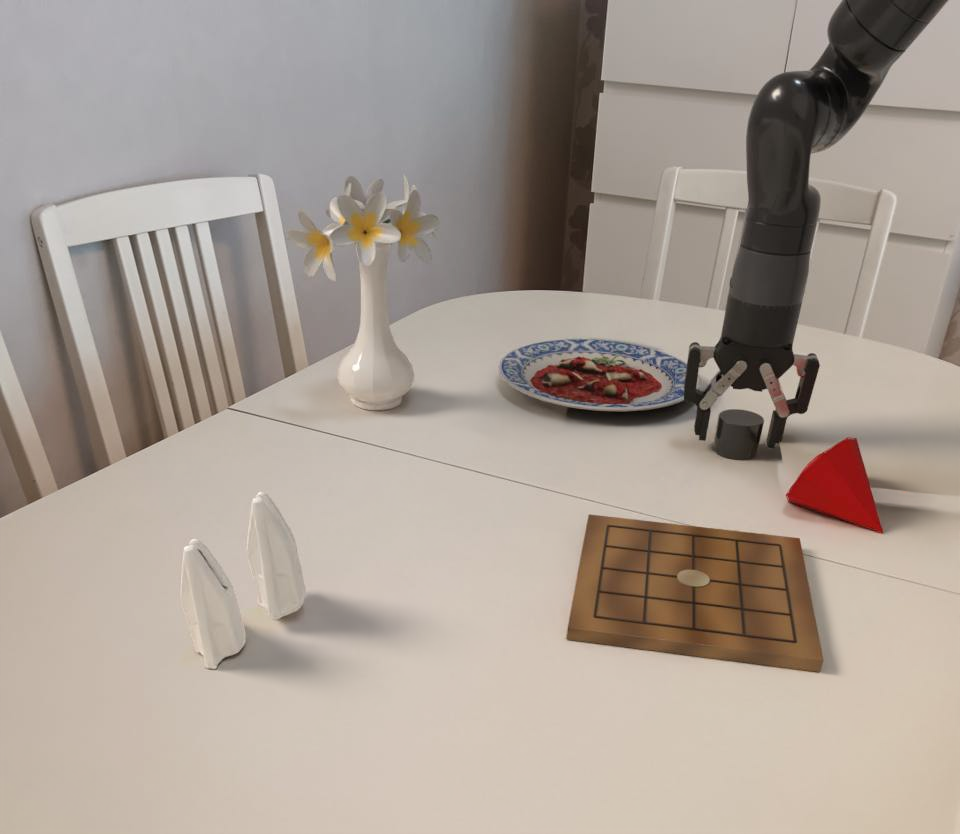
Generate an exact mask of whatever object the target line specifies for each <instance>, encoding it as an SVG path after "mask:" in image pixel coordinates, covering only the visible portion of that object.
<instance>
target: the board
mask: <svg viewBox="0 0 960 834" xmlns="http://www.w3.org/2000/svg"><path fill="white" fill-rule="evenodd" d="M586 520H587V521H586V527H585V531H584V537H583V542H582V548H581V553H580V560H579V565H578V570H577V575H576V580H575V586H574V590H573V597H572V601H571V608H570V613H569V619H568V623H567V630H566V640H568V641H575V642H577V641H578V642H584V643H593V644H600V645H607V646H616V647H622V648H631V649H639V650H647V651H653V652H661V653H670V654H676V655H683V656H684V655H685V656H686V655H687V656H692V657H699V658H700V657H701V658H708V659H715V660H724V661H730V662H731V661H732V662H737V663H738V662H739V663H748V664H754V665H761V666H762V665H763V666H769V667H777V668H784V669H793V670H800V671H808V672H817V673H820V672H821V671H822V668H823V664H824V654H823V649H822V645H821V640H820V635H819V630H818V624H817V619H816V614H815V609H814V604H813V599H812V593H811V588H810V584H809V578H808V573H807V567H806V563H805V557H804V553H803V548H802V542H801V538H800V537H794V536H784V535H776V534H767V533H757V532H748V531H739V530H731V529H722V528H713V527H705V526H696V525H695V526H694V525H687V524H679V523H678V524H677V523H669V522H660V521H651V520H642V519H633V518H624V517H616V516H608V515H606V516H605V515H598V514H590V513H589V514H588V516H587V519H586Z"/></svg>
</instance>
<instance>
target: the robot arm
mask: <svg viewBox="0 0 960 834" xmlns="http://www.w3.org/2000/svg"><path fill="white" fill-rule="evenodd" d="M947 3H949V0H841V1H840V3H839V4H838V6H837V7H836V8H835V10H834V12H833V13H832V15H831V17H830V19H829V21H828V24H827V30H826V31H827V39H828V44H827V46H826V48H825V49H824V51H823V53H821V55H820V56H819V58H818V60H817V61H816V62H815V64H814V65H813V66H812V67H811V68H810V69H808V70H793V71H791V70H790V71H785V72H781V73H779V74H776V75H774V76H773V77H772V78H770V79H769V80H768V81H767V82H765V84H764V85H762V87H761V88H760V90H759V91H758V93H757V95H756V97H755V99H754V101H753V104H752V106H751V109H750V112H749V114H748V115H749V116H748V119H747V126H746V134H745V135H746V136H745V153H746V154H745V155H746V157H745V159H746V160H745V161H746V184H747V193H748V194H747V196H748V198H747V199H748V202H747V206H746V210H745V214H744V215H745V216H744V222H743V227H742V233H741V238H740V243H739V247H738V251H737V254H736V257H735V260H734V264H733V268H732V272H731V273H732V274H731V277H730V279H729V283H728V284H729V289H728V295H727V300H726V306H725V311H724V317H723V323H722V328H721V335H720V338H719V340H718V341H717V343H716V344H715V345H714V346H708V345H705V346H704V345H700V343H698V341H694V342H691V343H690V344H689V346H688V352H687V353H688V354H687V362H686V363H687V369H686V377H685V385H684V402H685V403H691V404H693V405H695V406H696V407H697V408H696V412H695V413H696V414H695V418H694V419H695V420H694V425H693V429H694V435H695V436H698V441H703V442H706V439H707V434H708V429H709V423H710V418H711V412H712V407H711V406H712V405H713V404H714V403H715V401H717V400H718V399H719V397H721V396H723V395H724V394H725V392H727V390H728V389H729V388H730V387H731V388H732V389H733V390H747V389H748V390H751V391H753V392H760V393H761V392H763V391H764V390H767V391H768V394H769V396H770V399H771V401H772V402H773V405H774V408H775V409H773V410H772V413H771V418H770V421H769V422H770V423H769V427H768V431H767V435H766V436H767V437H766V448H768V449H774V448H775V446H776V444H777V445H779V444H780V443H781V442H782V440H783V438H784V432H785V429H786V428H785V427H786V423H787V421H788V418H789V417H790V416H792V415H795V414H799V415H804V414H806V412H807V411H808V409H809V405H810V402H811V398H812V395H813V391H814V387H815V384H816V380H817V378H818V377H817V376H818V374H819V371H820V366H821V364H820V361H819V358H818V356H817V354H816V353H814V352H810V353H808V354H807V355H805V354H798V353H797V354H795V353H794V350H793V345H794V341H795V337H796V336H795V335H796V331H797V327H798V323H799V319H800V314H801V310H802V304H803V302H804V301H803V300H804V297H805V291H806V287H807V283H808V278H809V272H810V261H811V253H812V248H813V244H814V239H815V235H816V231H817V226H818V222H819V216H820V210H821V203H822V198H821V193H820V191H819V190H818V189H817V188H816V187H815V186H813V185H811V184H810V183H809V182H810V181H809V180H810V167H811V166H810V165H811V164H810V163H811V157H812V156H811V155H812V154H817V153H821V152H823V151H826V150H828V149H830V148H832V147H833V146H834V145H836V144H837V143H838V142H840V141H841V140H842V139H843V138H844V137H845V136H846V135H847V134H848V133H850V131H851V130H852V129H853V127H854V126H855V125H856V124H857V122H858V121H859V120H860V118H861V117H862V116H863V115H864V113H865V112H866V110H867V108H868V107H869V105H870V103H871V102H872V100H873V99H874V97H875V96H876V95H877V92H878V91H879V89H880V88H881V86H882V85H883V83H884V82H885V81H884V80H885V79H886V77H887V76H888V73H889V71H890V70H891V69H892V67H893V65H894V64H895V63H896V62H897V61H898V60H899V59H900V58H901V57H902V56H903V55H904V53H905V52H906V51H907V49H909V48H910V46H911V45H912V44H913V43H914V42H915V41H916V40H917V38H918V37H919V36H920V35H921V34H922V32H923V31H924V30H925V29H926V28H927V27H928V25H930V23H931V22H932V21H933V20H934V19H935V17H936V16H937V15H938V14H939V12H941V10H942V9H943V8H944V7H945V6H946V4H947ZM710 359H713V360H714V362H715V363H716V365H717V367H718V369H719V370H718V371H717V373H716V374H715V375H714V376H713V377H712V378H711V380H710V382H709V383H708V384H707V385H706V386H705V388H704V389H702V390H701V389H699V388H698V389H696V386H697V378H698V375H699V370H700V368H704V367H705V366H707V364H708V361H709V360H710ZM793 366H794V367H795V370H796V374H797V376H798V377H800V378H799V381H798V383H797V388H796V391H795V396H794V398H789V399H787V398H786V395H785V392H784V390H783V387H782V385H781V382H780V378H781V377H782V376H783V375H784V374H785V373H787V372H788V371H789V370H790V369H791V368H792V367H793Z"/></svg>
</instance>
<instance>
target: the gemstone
mask: <svg viewBox="0 0 960 834" xmlns="http://www.w3.org/2000/svg"><path fill="white" fill-rule="evenodd" d="M785 497H786V500H787V502H788V503H791V504H794V505H797V506H799V507H803V508H806V509H809V510H811V511H815V512H818V513H821V514H824V515H826V516H831V517H833V518H836V519H839V520H842V521H845V522H847V523H851V524H853V525H856V526H860V527H862V528H866V529H870V530H872V531H874V532H877V533H881V534H885V533H884V530H883V525H882V523H881V519H880V516H879V512H878V509H877V505H876V502H875V499H874V498H875V497H874V495H873V491H872V488H871V484H870V480H869V477H868V474H867V470H866V467H865V463H864V460H863V455H862V453H861V449H860V446H859V442H858V439H857V437H846V438H844V439H842V440H841V441H839V442H837V443H835V444H834V445H832V446H831V447H829V448H827V449H825V450H824V451H822V452H821V453H819V454H817V455H816V456H815V457H814V458H812V460H810V461H809V462H808V463H807V464H806V465H805V467H804V468H803V469H802V471H801V473H800V474H799V475H798V476H797V478H796V480H795V481H794V482H793V484H792V485H791V486H790V488H789V489H788V491H787V492H786V494H785Z"/></svg>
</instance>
